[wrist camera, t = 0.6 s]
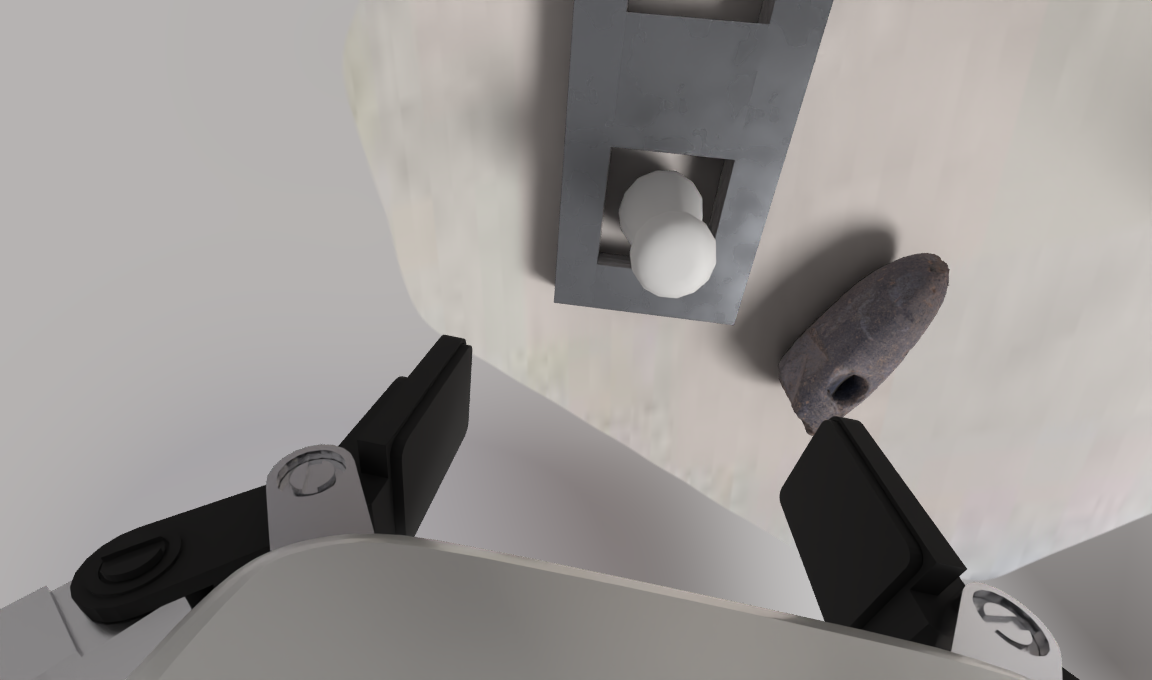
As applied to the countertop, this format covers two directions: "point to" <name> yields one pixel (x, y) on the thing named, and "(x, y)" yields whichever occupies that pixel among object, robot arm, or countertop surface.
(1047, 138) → the countertop surface
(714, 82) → the socket panel
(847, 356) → the perforated stone tool
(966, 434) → the countertop surface
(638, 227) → the salt shaker
